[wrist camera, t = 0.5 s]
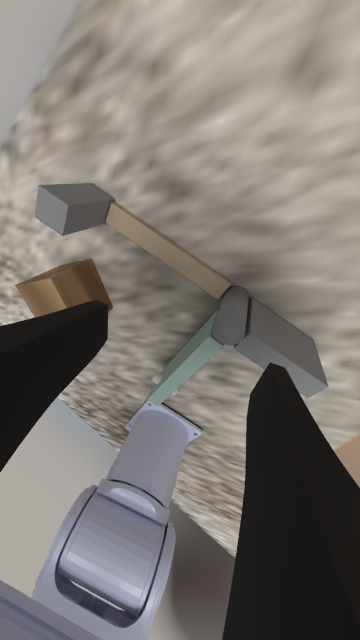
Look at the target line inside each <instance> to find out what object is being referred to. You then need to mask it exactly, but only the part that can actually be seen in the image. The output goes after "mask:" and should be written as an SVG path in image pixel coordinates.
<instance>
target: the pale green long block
mask: <svg viewBox="0 0 360 640" xmlns="http://www.w3.org/2000/svg"><path fill="white" fill-rule="evenodd" d="M218 311H219V309H218V310H217V311H216V312H215V313H214V314H213V315H212V316H211V317H210V318H209V320H208V321H207V322H206V323H205V324H204V325H203V326H202V327H201V328H200V329H199V331H198V332H197V333H196V334H195V335H194V336H193V337H192V338H191V339H190V340H189V342H188V343H187V344H186V345H185V346H184V347H183V348H182V349H181V350H180V351H179V353H178V354H177V355H176V356H175V357H174V358H173V359H172V360H171V361H170V362H169V364H168V365H167V366H166V367H165V368H164V369H163V370H162V372H161V374H160V373H158V372H156V373H155V374H154V376H153V378H152V379H151V381H152V382H154V383H155V385H154V387H153V389H152V391H151V393H150V395H149V397H148V399H147V400H148V401H150V402H151V403H153V404H154V405H156V406H157V407H158V406H159V405H160V404H161V403H162V402H163V401H165V400H166V399H167V398H168V397H169V396H170V395H173V396H174V395H175V394H176V393H177V392H178V390H179V387H180V386H181V385H182V384H183V383H184V382H185V381H186V380H187V379H188V378H190V377H191V376H192V375H193V374H194V373H195V372H196V371H197V370H198V369H199V368H200V367H202V366H203V365H204V364H205V363H206V362H207V361H208V360H209V359H210V358H211V357H212V356H214V355H215V354H216V353H217V352H218V351H219V350H220V349H221V348H222V347H223V346H224V344H223V343H221V342H219V341H218V340H217V339H216V338H215V337H214V335H213V327H214V323H215V320H216V317H217V314H218Z"/></svg>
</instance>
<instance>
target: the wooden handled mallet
mask: <svg viewBox="0 0 360 640" xmlns="http://www.w3.org/2000/svg"><path fill="white" fill-rule="evenodd" d="M35 218H37V219H38V220H40V221H41V222H43V223H44V224H46V225H47V226H49V227H50V228H52V229H53V230H55V231H56V232H58V233H59V234H60V235H62V236H64V235H67V234H71V233H74V232H78V231H81V230H84V229H88V228H91V227H95V226H98V225H102V224H105V223H107V224H108V225H110V226H111V227H113V228H114V229H115V230H117V231H118V232H120V233H121V234H123V235H124V236H126V237H127V238H129V239H130V240H132V241H133V242H134V243H136V244H137V245H139V246H140V247H142V248H143V249H145V250H146V251H148V252H149V253H150V254H152V255H153V256H155V257H156V258H158V259H159V260H161V261H162V262H164V263H165V264H167V265H168V266H169V267H171V268H172V269H174V270H175V271H177V272H178V273H180V274H181V275H183V276H184V277H185V278H187V279H188V280H190V281H191V282H193V283H194V284H196V285H197V286H199V287H200V288H201V289H203V290H204V291H206V292H207V293H209V294H210V295H212V296H213V297H215V298H216V299H218V300H219V298H220V297H221V296H222V295H223V293H224V292H225V291H226V292H225V293H224V296H223V299H222V302H221V305H220V308H219V311H218V314H217V317H216V320H215V323H214V327H213V335H214V337H215V338H216V339H217V340H218V341H219V342H221V343H223V344H226V345H234V349H235V350H237V351H238V352H240V353H241V354H243V355H244V356H246V357H247V358H249V359H250V360H252V361H253V362H255V363H256V364H257V365H259V366H260V367H262V368H263V369H266V368H267V366H268V364H269V363H270V362H271V363H274V364H277V365H279V366H282V367H285V368H286V370H287V371H288V373H289V375H290V377H291V379H292V381H293V383H294V385H295V386H296V388H297V390H298V392H299V393H300V394H302V395H303V396H305V397H306V398H309V397H311V396H313V395H314V394H316V393H318V392H320V391H322V390H323V389H325V388H327V387H328V384H327V381H326V378H325V374H324V371H323V368H322V365H321V362H320V359H319V355H318V352H317V349H316V346H315V343H314V340H313V339H311V338H310V337H309V336H307V335H306V334H304V333H303V332H301V331H300V330H298V329H297V328H296V327H294V326H293V325H291V324H290V323H288V322H287V321H285V320H284V319H283V318H281V317H280V316H278V315H277V314H275V313H274V312H273V311H271V310H270V309H268V308H267V307H265V306H264V305H262V304H261V303H260V302H258V301H257V300H255V299H254V298H252V299H251V300H250V301H249V295H248V292H247V291H246V290H245V289H244V288H242V287H238V286H234V287H231V288H229V289H228V287H229V286H230V284H231V282H229V281H228V280H226V279H225V278H223V277H222V276H221V275H219V274H218V273H216V272H215V271H213V270H212V269H210V268H209V267H208V266H206V265H205V264H203V263H202V262H200V261H199V260H197V259H196V258H195V257H193V256H192V255H190V254H189V253H187V252H186V251H184V250H183V249H182V248H180V247H179V246H177V245H176V244H174V243H173V242H171V241H170V240H169V239H167V238H166V237H164V236H163V235H161V234H160V233H158V232H157V231H156V230H154V229H153V228H151V227H150V226H148V225H147V224H146V223H144V222H143V221H141V220H140V219H138V218H137V217H135V216H134V215H133V214H131V213H130V212H128V211H127V210H125V209H124V208H122V207H121V206H120V205H118V204H117V203H115V202H114V198H112V197H111V196H110V195H108V194H107V193H105V192H104V191H102V190H101V189H100V188H98V187H97V186H95V185H94V184H92V183H86V184H56V185H39V186H38V195H37V204H36V214H35Z"/></svg>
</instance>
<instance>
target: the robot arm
mask: <svg viewBox="0 0 360 640" xmlns="http://www.w3.org/2000/svg"><path fill="white" fill-rule="evenodd" d="M107 336H108V304H106V303H103V302H100V301H98V300H93V301H89V302H86V303H82V304H79V305H76V306H72V307H69V308H66V309H63V310H59V311H56V312H53V313H49V314H46V315H43V316H39V317H35V318H31V319H28V320H24V321H20V322H16V323H12V324H8V325H3V326H0V472H1V471H2V469H3V468H4V466H5V465H6V463H7V462H8V460H9V459H10V458H11V456H12V455H13V453H14V452H15V451H16V449H17V448H18V446H19V445H20V444H21V442H22V441H23V440H24V438H25V437H26V436H27V434H28V433H29V432H30V430H31V429H32V428H33V426H34V425H35V423H36V422H37V421H38V420H39V418H40V417H41V416H42V414H43V413H44V412H45V411H46V410H47V408H48V407H49V406H50V404H51V403H52V402H53V401H54V400H55V399H56V398H57V396H58V395H59V394H60V393H61V392H62V391H63V390H64V389H65V388H66V387H67V386H68V385H69V384H70V383H71V382H72V380H73V379H74V378H75V377H76V376H77V375H78V374H79V373H80V372H81V371H82V370H83V369H84V368H85V367H86V366H87V365H88V364H89V363H90V361H91V360H92V359H93V358H94V357H95V356H96V355H97V353H98V352H99V351H100V349H101V348H102V346H103V345H104V343H105V342H106V341H107ZM125 428H126V429H127V430H128V431H130V433H129V434H128V436H127V438H126V440H125V442H124V444H123V446H122V448H121V450H120V452H119V454H118V455H117V457H116V459H115V461H114V463H113V465H112V467H111V469H110V472H109V474H108V476H107V478H106V479H104V478H102V480H101V482H100V484H99V486H98V487H97V486H95V485H92V486H91V487H89V488H87V489H85V490H84V491H83V492H82V493H81V494H80V495H79V497H78V498H77V500H76V501H75V502H74V504H73V506H72V507H71V509H70V511H69V512H68V514H67V516H66V517H65V519H64V521H63V523H62V525H61V527H60V529H59V531H58V533H57V535H56V537H55V539H54V542H53V544H52V546H51V549H50V552H49V556H48V558H47V560H46V562H45V564H44V566H43V568H42V570H41V572H40V574H39V576H38V578H37V580H36V582H35V589H34V591H33V593H32V598H30V597H28V596H27V595H25V594H23V593H21V592H20V591H18V590H16V589H15V588H13V587H11V586H9V585H8V584H6V583H4V582H3V581H1V580H0V640H148V636H149V633H150V629H151V626H152V622H153V619H154V615H155V614H156V611H157V609H158V607H159V604H160V601H161V598H162V595H163V592H164V589H165V585H166V582H167V578H168V574H169V570H170V566H171V562H172V557H173V552H174V546H175V538H176V537H175V532H174V529H173V524H172V523H170V522H167V520H168V517H169V513H170V510H168V507H169V503H170V500H171V496H172V493H173V489H174V486H175V482H176V479H177V475H178V472H179V468H180V465H181V461H182V458H183V454H184V451H185V447H186V445H187V444H188V443H189V442H191V441H192V440H194V439H195V438H197V437H198V436H200V435H201V434H202V430H201V429H200V428H198V427H197V426H195V425H194V424H192V423H191V422H189V421H188V420H186V419H185V418H183V417H181V416H180V415H178V414H177V413H175V412H174V411H172V410H171V409H169V408H168V407H166V406H165V405H163V404H160V405H159V406H158V407H157V406H156V405H154V404H153V403H151V402H150V401H148V400H147V401H146V402H145V403H144V405H143V406H142V407H141V408H140V409H139V410H138V411H137V413H136V414H135V415H134V416H133V417H132V418H131V419H130V421H129V422H128V423H127V424H126V426H125ZM69 579H70V580H71V581H73V582H75V583H77V584H79V585H80V586H82V587H84V588H86V589H88V590H89V591H91V592H93V593H95V594H97V595H98V596H100V597H102V598H104V599H106V600H108V601H109V602H111V603H113V604H115V605H116V606H118V607H120V608H122V609H123V610H125V611H123V610H119V609H117V608H115V607H113V606H111V605H109V604H108V603H106V602H104V601H102V600H100V599H99V598H97V597H95V596H93V595H92V594H90V593H88V592H86V591H84V590H83V589H81V588H79V587H77V586H75V585H74V584H73V583H72V582H71V581H70V580H69ZM222 640H360V488H359V486H358V485H357V484H356V483H355V481H354V480H353V478H352V477H351V475H350V474H349V473H348V471H347V470H346V468H345V467H344V466H343V464H342V463H341V462H340V460H339V459H338V457H337V455H336V454H335V452H334V451H333V449H332V448H331V446H330V445H329V443H328V442H327V440H326V438H325V437H324V435H323V434H322V432H321V430H320V429H319V427H318V425H317V424H316V422H315V420H314V419H313V417H312V415H311V414H310V412H309V410H308V408H307V407H306V405H305V403H304V401H303V399H302V398H301V396H300V394H299V392H298V390H297V388H296V386H295V385H294V383H293V381H292V379H291V377H290V375H289V373H288V371H287V370H286V368H285V367H282V366H279V365H277V364H274V363H271V362H270V363H269V364H268V366H267V368H266V369H265V371H264V373H263V374H262V376H261V377H260V379H259V381H258V382H257V384H256V386H255V387H254V389H253V390H252V392H251V394H250V400H249V406H248V413H247V430H246V475H245V490H244V499H243V507H242V516H241V524H240V531H239V538H238V546H237V553H236V560H235V567H234V573H233V579H232V586H231V593H230V598H229V604H228V610H227V615H226V621H225V627H224V633H223V638H222Z"/></svg>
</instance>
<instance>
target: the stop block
mask: <svg viewBox="0 0 360 640" xmlns="http://www.w3.org/2000/svg"><path fill="white" fill-rule="evenodd" d="M15 286H16V288H17V289H18V291H19V292H20V294H21V296H22V297H23V299H24V300H25V302H26V304H27V305H28V307H29V309H30V310H31V312H32V313H33V315H34V317H39V316H43V315H46V314H49V313H53V312H56V311H59V310H63V309H66V308H69V307H72V306H76V305H79V304H82V303H86V302H89V301H93V300H98V301H100V302H103V303H106V304H108V311H109V310H111V309H112V308H113V307H112V304H111V302H110V300H109V297H108V295H107V293H106V290H105V288H104V286H103V283H102V281H101V279H100V277H99V274H98V272H97V270H96V267H95V265H94V263H93V260H92V259H89V260H84V261H80V262H75V263H71V264H66V265H62V266H58V267H56V268H54V269H52V270H49V271H47V272H45V273H42V274H40V275H38V276H35V277H33V278H31V279H29V280H26V281H24V282H22V283H19V284H17V285H15Z"/></svg>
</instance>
